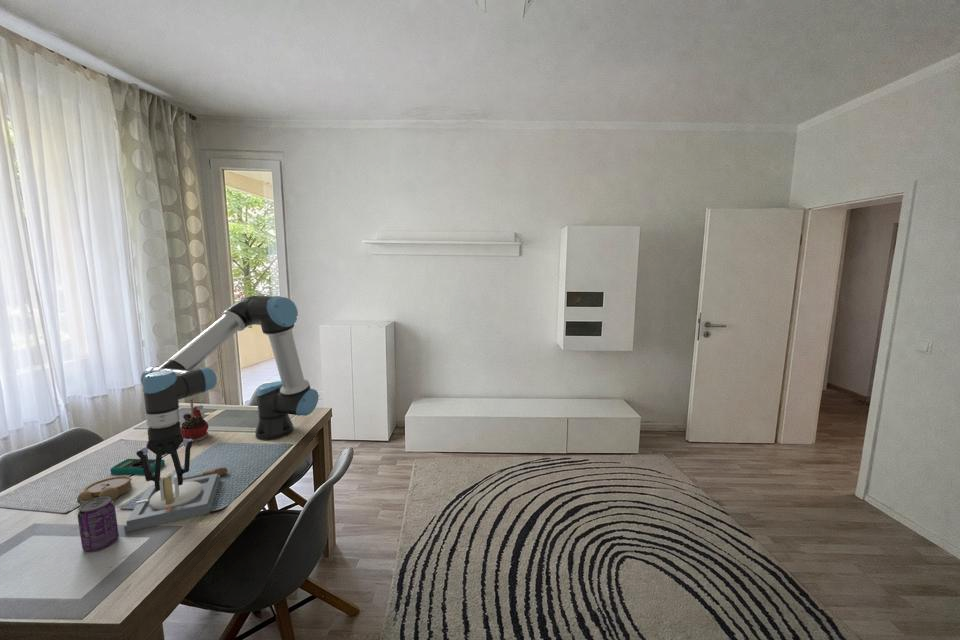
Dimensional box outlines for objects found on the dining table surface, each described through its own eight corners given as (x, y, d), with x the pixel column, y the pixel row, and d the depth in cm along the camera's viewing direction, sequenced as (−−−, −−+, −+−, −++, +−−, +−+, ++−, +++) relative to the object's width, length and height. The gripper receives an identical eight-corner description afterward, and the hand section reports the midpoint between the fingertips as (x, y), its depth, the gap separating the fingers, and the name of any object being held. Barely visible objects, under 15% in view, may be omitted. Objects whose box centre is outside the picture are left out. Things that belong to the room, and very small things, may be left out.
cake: (175, 441, 164) (171, 401, 162) (198, 432, 173) (194, 394, 170) (192, 445, 160) (187, 404, 158) (214, 436, 169) (210, 397, 166)
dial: (159, 490, 125) (156, 461, 124) (207, 482, 130) (204, 454, 128) (142, 514, 113) (138, 482, 112) (194, 504, 118) (191, 474, 116)
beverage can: (99, 535, 107) (93, 496, 106) (126, 534, 108) (120, 495, 106) (74, 554, 100) (68, 512, 99) (103, 552, 101) (97, 511, 99)
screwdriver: (228, 472, 140) (227, 465, 140) (227, 475, 138) (226, 468, 138) (183, 480, 135) (182, 473, 134) (181, 484, 132) (180, 477, 132)
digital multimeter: (150, 475, 138) (149, 468, 138) (109, 475, 138) (108, 467, 138) (167, 465, 145) (166, 458, 145) (128, 464, 145) (127, 457, 145)
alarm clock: (138, 473, 134) (111, 490, 119) (138, 487, 134) (111, 506, 119) (98, 478, 130) (65, 496, 116) (98, 493, 130) (65, 512, 116)
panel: (220, 480, 135) (219, 471, 135) (209, 513, 117) (208, 503, 117) (147, 494, 126) (146, 485, 126) (124, 532, 108) (123, 521, 108)
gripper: (125, 434, 105) (133, 512, 109) (196, 422, 115) (202, 494, 118) (130, 424, 112) (137, 499, 115) (197, 414, 121) (202, 483, 124)
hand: (170, 496), depth 116 cm, fingers open, 3 cm apart
